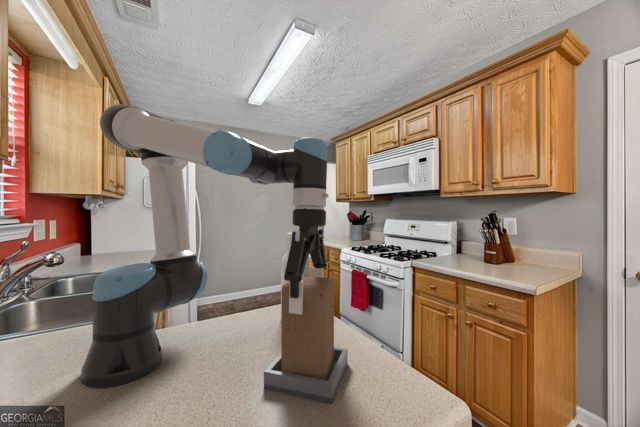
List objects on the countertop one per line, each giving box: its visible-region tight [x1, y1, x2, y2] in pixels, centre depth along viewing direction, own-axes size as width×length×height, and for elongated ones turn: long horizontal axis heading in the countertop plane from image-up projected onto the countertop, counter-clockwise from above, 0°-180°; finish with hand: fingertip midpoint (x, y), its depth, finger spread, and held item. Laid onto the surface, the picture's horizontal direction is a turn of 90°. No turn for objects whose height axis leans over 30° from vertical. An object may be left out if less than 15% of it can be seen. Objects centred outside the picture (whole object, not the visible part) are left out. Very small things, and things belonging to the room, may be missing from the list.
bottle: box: [280, 232, 304, 321], centre depth 93 cm, size 8×8×30 cm
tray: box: [263, 346, 349, 404], centre depth 59 cm, size 14×14×4 cm
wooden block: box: [280, 276, 335, 381], centre depth 60 cm, size 10×10×20 cm
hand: (307, 302), depth 60 cm, fingers open, 13 cm apart
